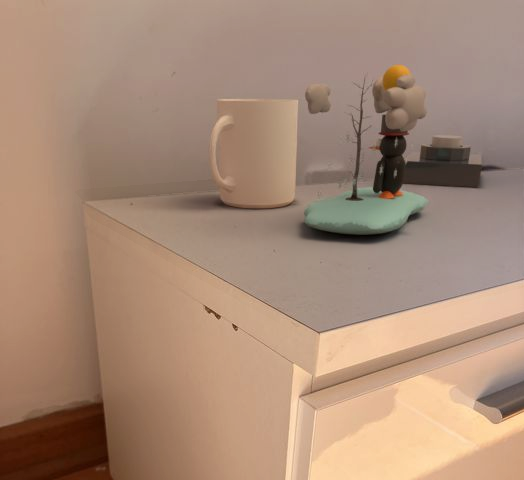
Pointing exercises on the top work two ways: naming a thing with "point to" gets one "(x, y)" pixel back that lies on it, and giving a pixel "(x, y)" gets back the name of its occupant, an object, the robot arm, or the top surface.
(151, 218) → the top surface
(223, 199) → the mug
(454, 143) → the flush button
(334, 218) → the penguin figurine
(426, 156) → the push button box
